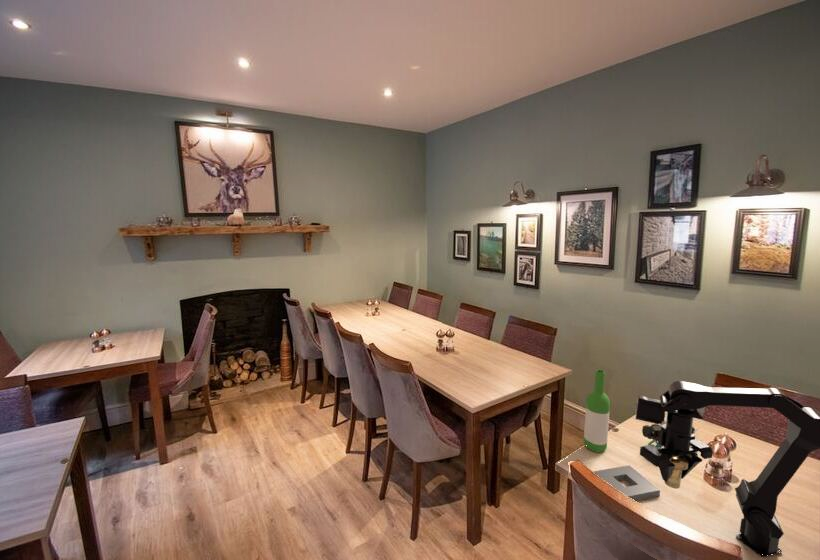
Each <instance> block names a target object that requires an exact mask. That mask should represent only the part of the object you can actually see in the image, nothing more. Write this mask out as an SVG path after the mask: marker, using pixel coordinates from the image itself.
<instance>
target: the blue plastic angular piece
mask: <svg viewBox="0 0 820 560" xmlns="http://www.w3.org/2000/svg"><path fill="white" fill-rule="evenodd" d="M654 443H655V444H656V445H655V446H656V447H658V448H659V449H662V448H663V447H664V446H663V445H660V444H658V441H657V440H654V439H651V441H649V442H648V445H653V444H654Z"/></svg>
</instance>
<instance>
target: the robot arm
mask: <svg viewBox="0 0 820 560" xmlns="http://www.w3.org/2000/svg"><path fill="white" fill-rule="evenodd" d="M714 406H716V407H717V406H718V407H723V406H724V407H739V408H741V407H742V408H760V409H764V408H765V409H774V410H776V411H777V412H779V413H780V414H781V415H782V416H784V417H785V418H786V419H787V420H788V422H787V427H786V428H787V429H786V437H785V439H784V440H783V441H782V442H781V444H780V446H779V447H778V448H777V450H776V451H775V453H774V454H772V457H770V460H769V461H768V462H767V464H766V465H765V466H764V468H763V469H762V470H761V472H760V473H759V475H758V476H757V478H756V479H754V480H751V481H748V480H746V479H745V478H743V479H741V481H740V483H739V485H738V486H737V487H735V488H734V491H735V492H736V493H735V497H736V500H737V503H738V505H739V508H740V511H741V513H742V515H743V518H740V519H741V520H740V527H739V533H738V534H736V536H735V537H736V538H737V539H738V540H739V541H740V542H742V543H744V545H746V546H747V547H748V548H750V549H751V550H753V551H754V552H755V553H756V552H757V553H756V554H758V555H759V554H760V555H761V556H760V555H759V556H760V557H762V556H767V555H771V554H775V555H777V554H776V553H779V552H783V550H782V549H781V548H780V547H779V541H780V539H781V538H782V537H783V535H784V534H785V533H784V531H783V529H782V527H781V525H780V523H779V521H778V519H777V517H776V514H775V513H776V511H777V506H778V505H777V503H778V497H779V496H780V494H781V492H783V490H784V488H785V487H786V486H787V485H788V483H789V482H790V480H791V479H792V478H793V477H794V475H795V474H796V473H797V472H798V470H799V469H800V467H801V466H803V464H804V462H805V461H806V459H807V458H808V457H809V455H811V453H813V452H816V451H818V450H820V410H817V409H815V408H812V407H808V406H807V407H806V406H804V404H802V403H801V402H799V401H797V400H796V399H794V398H792V397H790V396H788V395H787V394H785V393H784V392H783V391H782V390H780V389H778V388H777V387H776V388H775V387H769V388H759V387H758V388H755V387H754V388H751V387H749V388H747V387H718V386H712V387H711V386H706V385H705V386H704V385H702V384H699V383H695V382H688V381H684V380H678V381H677V380H676V381H674V382H673V383H671V384H670V385H669V386H668V390H667V391H665V392H664V393H663V394H661V395H659V399H655V398H651V397H646V396H644V395H637V402H636V403H635V420H637V421H641V422H647V423H652V424H657V425H659V426H651V425H647V424H646V425H643V426H642V430H641V432H642V436H643V437H644V438H647V439H648V440H653V439H654V440H657V441H658V444H660V445H663V446H662V447H661V448H660V447H659V448H658V447H656V445H655V444H651V445H649V444H648V445H642V446H640V447H639V455H640V456H641V457H642V458H644V459H645V460H646V461H648V462H649V463H651V464H652V465H653V466H654V467H657V468H659V472H660V475H661V478H662V480H663V481H665V482H667V481H668V479H669V478H670V476H671V474H672V472H673V470H674V467H675V465H674V464H673V463H672V462H671V459H672V457H676V456H681V455H682V456H684V457H685V458H686V459H687V460H688V469H686V470H682V474H681V480H683V479H685V477H686V476H687V475H689V473H690V472H691V471H692V470H693V469H694V468H695V467H697V465H699V464H700V463H702V462H703V459H704V460H707V459H712V458H713V454H714V452H713V450H712V448H711V446H710V445H708V444H706V443H704V442H703V441H700V439H698V438H696V435H694V433H693V434H691V432H692V425H693V423H694V422H693V421H694V419H697V420H703V419H704V416H703V414H702V412H701V411H700V409H701V410H702V409H704V408H706V407H707V408H708V407H714ZM665 413H667V414H666V415H665ZM665 416H667V421H666V426H665V427H663V426H660V425H661V424H662V422H664V419H665ZM698 452H699V453H700V456H699V454H698ZM665 482H664V483H665ZM779 550H780V551H779ZM762 554H763V555H762ZM779 554H780V553H779ZM771 556H772V555H771ZM767 557H768V556H767Z"/></svg>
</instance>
